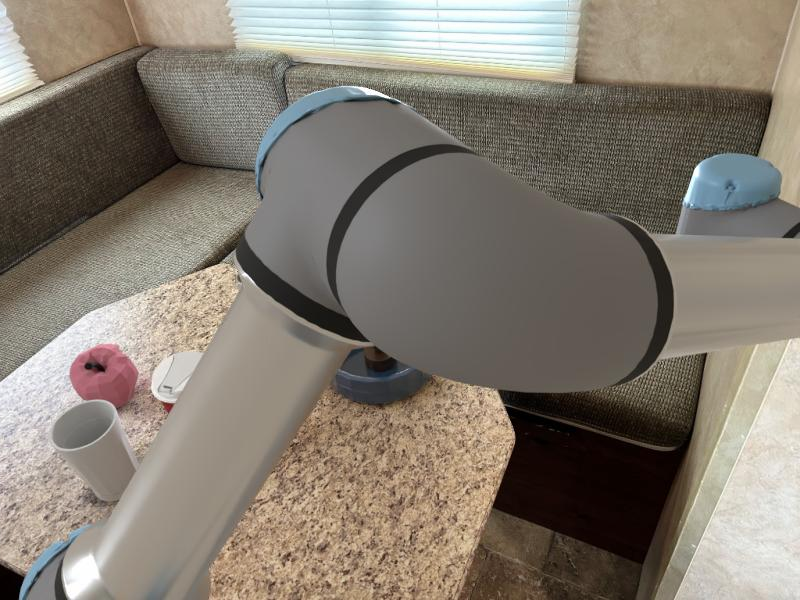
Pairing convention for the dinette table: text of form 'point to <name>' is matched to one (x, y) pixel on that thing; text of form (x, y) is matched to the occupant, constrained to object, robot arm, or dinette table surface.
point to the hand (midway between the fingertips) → (431, 247)
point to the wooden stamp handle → (378, 359)
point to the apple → (104, 375)
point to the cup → (95, 447)
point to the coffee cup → (173, 376)
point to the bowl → (376, 380)
